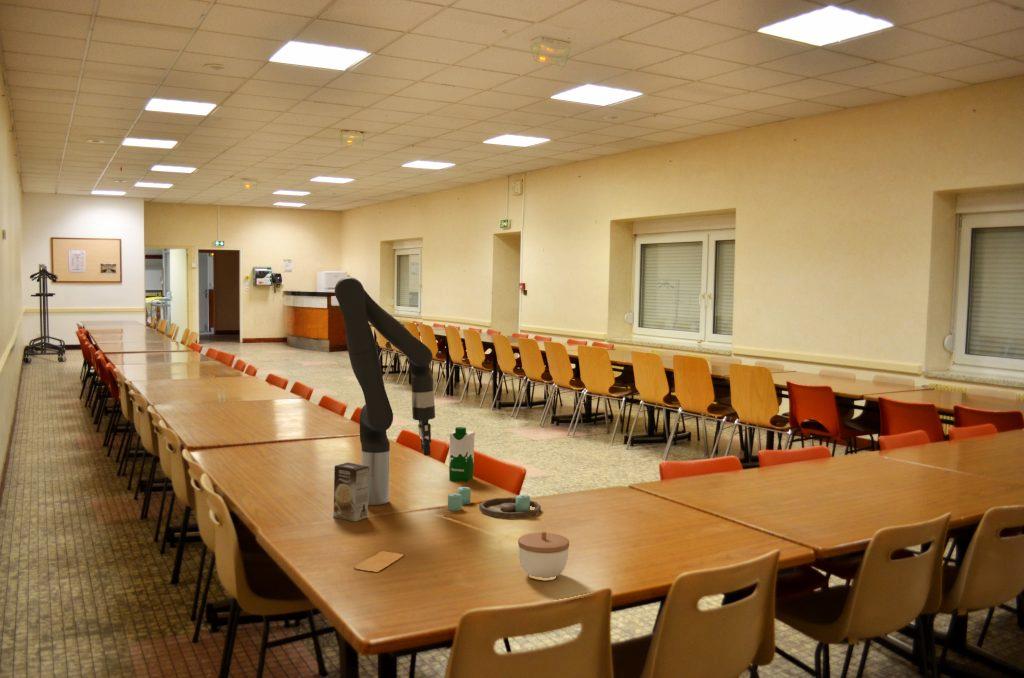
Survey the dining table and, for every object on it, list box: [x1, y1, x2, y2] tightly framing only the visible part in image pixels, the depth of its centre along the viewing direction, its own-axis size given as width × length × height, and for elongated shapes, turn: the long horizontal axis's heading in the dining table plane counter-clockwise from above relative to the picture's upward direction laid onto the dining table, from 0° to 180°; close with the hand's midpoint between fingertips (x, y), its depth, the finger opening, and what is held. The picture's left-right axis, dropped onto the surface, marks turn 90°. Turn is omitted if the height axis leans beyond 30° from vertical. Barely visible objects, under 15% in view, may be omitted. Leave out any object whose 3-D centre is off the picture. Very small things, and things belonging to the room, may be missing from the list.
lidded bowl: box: [517, 531, 570, 578], centre depth 191 cm, size 13×13×11 cm
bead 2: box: [456, 486, 472, 506], centre depth 257 cm, size 4×4×6 cm
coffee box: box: [333, 462, 369, 522], centre depth 238 cm, size 9×6×16 cm
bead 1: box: [447, 493, 463, 512], centre depth 248 cm, size 4×4×6 cm
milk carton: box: [448, 426, 476, 483], centre depth 293 cm, size 9×9×20 cm
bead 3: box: [515, 494, 531, 512], centre depth 244 cm, size 4×4×6 cm
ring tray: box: [478, 497, 542, 519], centre depth 248 cm, size 19×19×3 cm
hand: (426, 452), depth 260 cm, fingers open, 8 cm apart
